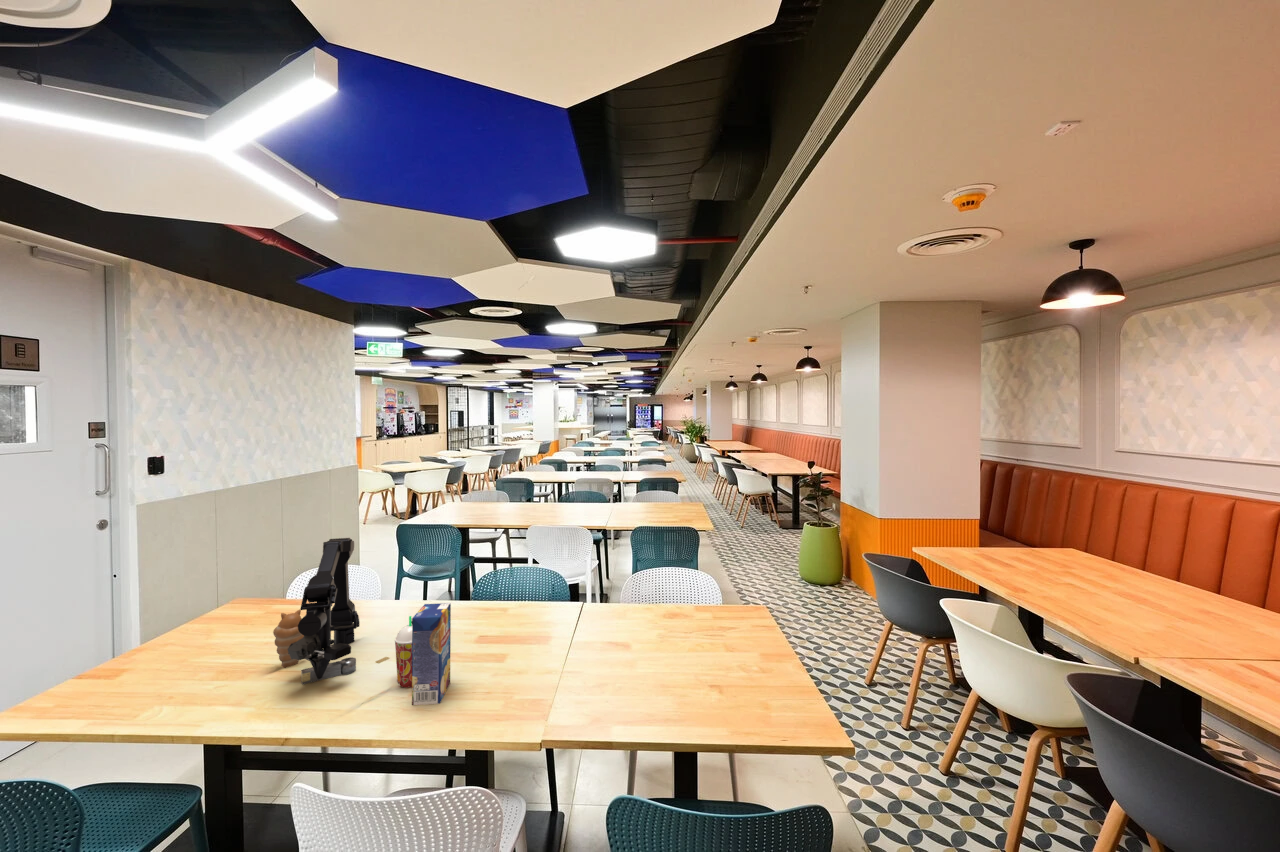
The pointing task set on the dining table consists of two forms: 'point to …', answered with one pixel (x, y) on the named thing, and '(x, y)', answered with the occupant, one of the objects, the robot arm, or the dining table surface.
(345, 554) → the robot arm
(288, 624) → the cat ice cream
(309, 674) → the swing bar
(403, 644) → the smoothie
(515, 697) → the dining table surface
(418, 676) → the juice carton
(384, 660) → the brass stop
